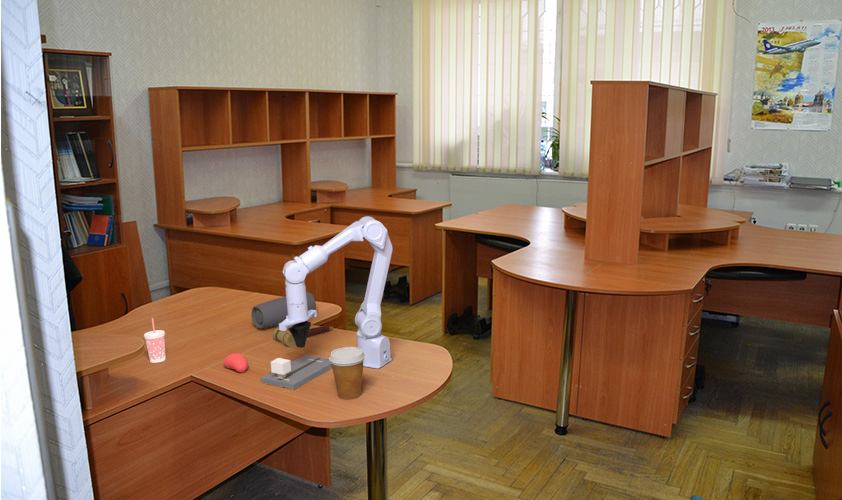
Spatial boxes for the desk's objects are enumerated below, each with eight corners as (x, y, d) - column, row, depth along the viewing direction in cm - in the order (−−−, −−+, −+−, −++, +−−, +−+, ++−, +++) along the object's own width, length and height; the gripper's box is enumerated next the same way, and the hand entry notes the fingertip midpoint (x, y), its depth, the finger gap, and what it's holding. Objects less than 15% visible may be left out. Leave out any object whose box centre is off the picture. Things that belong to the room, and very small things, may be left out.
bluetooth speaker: (303, 313, 249) (301, 288, 247) (318, 318, 243) (316, 292, 241) (251, 328, 233) (249, 302, 231) (265, 334, 227) (263, 306, 225)
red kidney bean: (244, 367, 200) (233, 350, 200) (254, 364, 193) (243, 347, 192) (231, 377, 197) (219, 360, 196) (240, 375, 190) (228, 357, 189)
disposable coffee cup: (368, 386, 179) (365, 345, 176) (366, 401, 169) (363, 358, 167) (333, 388, 178) (330, 347, 176) (330, 403, 169) (326, 359, 167)
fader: (291, 376, 183) (290, 360, 182) (284, 380, 180) (282, 364, 179) (279, 374, 185) (278, 357, 184) (272, 378, 182) (270, 361, 181)
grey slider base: (337, 364, 195) (337, 359, 195) (293, 390, 178) (293, 384, 178) (306, 359, 201) (305, 354, 201) (261, 382, 184) (260, 377, 184)
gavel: (325, 318, 232) (340, 324, 224) (325, 331, 233) (340, 337, 225) (272, 328, 219) (286, 335, 211) (272, 341, 219) (286, 348, 212)
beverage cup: (147, 358, 207) (142, 316, 204) (168, 355, 209) (162, 314, 207) (147, 365, 202) (141, 322, 199) (168, 361, 204) (162, 319, 201)
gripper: (302, 294, 194) (306, 337, 197) (269, 307, 182) (273, 353, 185) (320, 296, 191) (324, 340, 194) (288, 310, 178) (292, 356, 181)
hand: (300, 346), depth 189 cm, fingers closed
